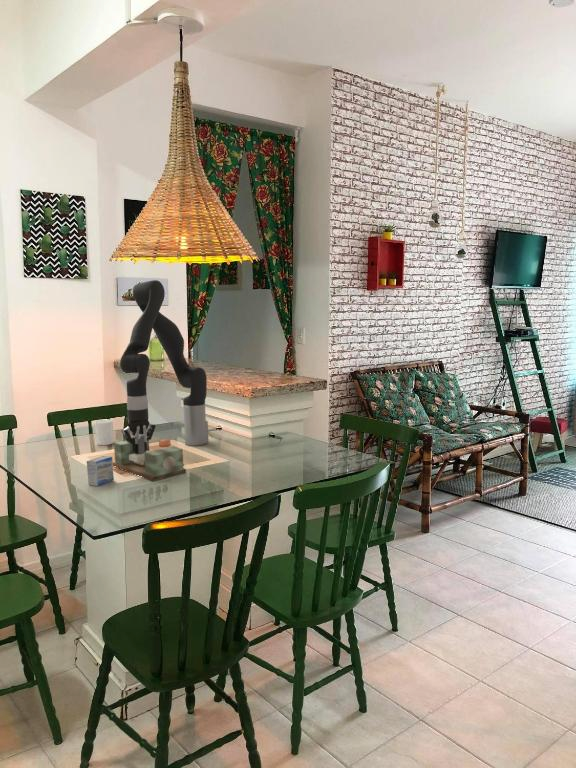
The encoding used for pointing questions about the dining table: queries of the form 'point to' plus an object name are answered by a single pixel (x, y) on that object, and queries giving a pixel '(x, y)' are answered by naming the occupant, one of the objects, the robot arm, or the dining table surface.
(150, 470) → the rail stand
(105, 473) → the medicine box
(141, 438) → the carriage
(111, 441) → the white cup
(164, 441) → the button
